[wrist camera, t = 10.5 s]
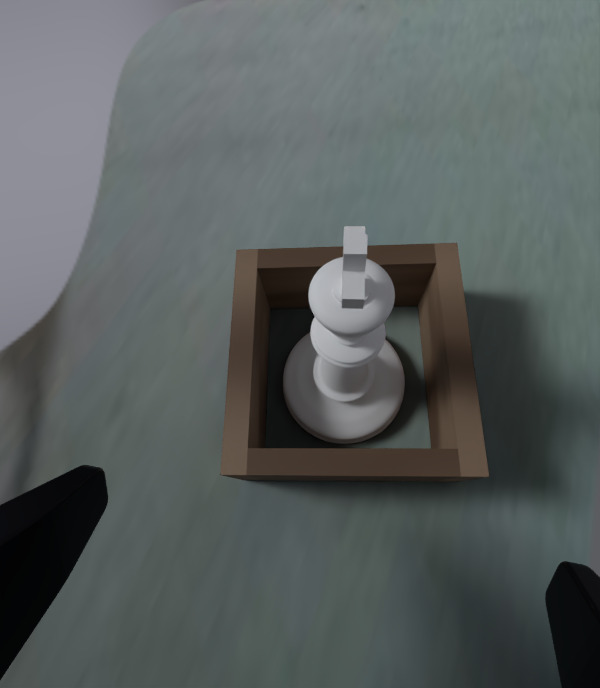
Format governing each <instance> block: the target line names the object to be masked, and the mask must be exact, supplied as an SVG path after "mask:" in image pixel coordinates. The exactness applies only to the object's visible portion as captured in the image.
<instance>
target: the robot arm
mask: <svg viewBox="0 0 600 688" xmlns="http://www.w3.org/2000/svg"><path fill="white" fill-rule="evenodd" d="M107 503H108V493H107V486H106V479H105V473H104V471H103V469H102V468H99V467H94V466H89V465H82V466H79V467H77V468H75V469H73V470H71V471H69V472H67V473H65V474H63V475H61V476H59V477H57V478H55V479H53V480H51V481H48V482H46V483H44V484H42V485H40V486H38V487H36V488H34V489H32V490H30V491H28V492H26V493H24V494H22V495H20V496H18V497H16V498H14V499H12V500H10V501H8V502H5V503H3V504H1V505H0V680H1V678H2V677H3V675H4V674H5V672H6V671H7V669H8V668H9V666H10V665H11V663H12V662H13V660H14V659H15V657H16V656H17V654H18V653H19V651H20V650H21V648H22V647H23V645H24V644H25V642H26V641H27V639H28V638H29V636H30V635H31V633H32V632H33V630H34V629H35V627H36V626H37V624H38V623H39V621H40V620H41V618H42V617H43V615H44V614H45V612H46V611H47V609H48V608H49V606H50V605H51V603H52V602H53V600H54V599H55V597H56V596H57V594H58V593H59V591H60V590H61V588H62V587H63V585H64V583H65V582H66V580H67V579H68V577H69V575H70V573H71V572H72V570H73V568H74V566H75V565H76V563H77V561H78V559H79V557H80V555H81V553H82V552H83V550H84V548H85V546H86V544H87V542H88V540H89V539H90V537H91V535H92V533H93V531H94V529H95V527H96V526H97V524H98V522H99V520H100V518H101V516H102V514H103V513H104V511H105V509H106V506H107ZM546 607H547V612H548V618H549V623H550V628H551V634H552V639H553V644H554V650H555V655H556V660H557V665H558V671H559V676H560V681H561V686H562V688H600V577H599V576H598V575H597V574H596V573H595V572H594V571H593V570H592V569H590V568H589V567H588V566H585V565H582V564H577V563H572V562H567V561H563V562H562V563H560V564H559V566H558V567H557V569H556V572H555V574H554V576H553V578H552V580H551V582H550V584H549V586H548V588H547V591H546Z"/></svg>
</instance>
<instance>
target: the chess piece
mask: <svg viewBox="0 0 600 688" xmlns="http://www.w3.org/2000/svg"><path fill="white" fill-rule="evenodd" d="M308 298H309V304H310V308H311V310H312V312H313V314H314V316H315V317H314V319H313V321H312V325H311V331H310V332H309V333H308V334H306V335H305V336H304V337H303V338H302V339H301V340H300V341H299V342H298V343H297V344H296V345H295V346H294V348H293V349H292V351H291V352H290V354H289V356H288V359H287V361H286V364H285V368H284V374H283V394H284V399H285V402H286V405H287V407H288V409H289V411H290V413H291V415H292V416H293V418H294V419H295V420H296V422H297V423H298V424H299V425H300V426H301V427H302V428H303V429H304V430H306V431H307V432H308V433H310V434H311V435H313V436H315V437H317V438H319V439H321V440H324V441H327V442H332V443H338V444H351V443H357V442H362V441H365V440H367V439H370V438H372V437H374V436H376V435H377V434H379V433H380V432H382V431H383V430H384V429H385V428H386V427H387V426H388V425H389V424H390V423H391V422H392V421H393V419H394V418H395V417H396V415H397V413H398V411H399V409H400V407H401V404H402V401H403V396H404V387H405V378H404V371H403V367H402V364H401V361H400V358H399V356H398V354H397V353H396V351H395V350H394V348H393V347H392V346H391V344H390V343H389V342H388V341H387V340H386V339H385V335H386V331H385V325H384V322H385V320H386V319H387V318H388V316H389V315H390V313H391V311H392V309H393V305H394V301H395V290H394V286H393V283H392V280H391V278H390V277H389V275H388V274H387V272H386V271H385V270H384V269H383V268H382V267H381V266H379V265H378V264H377V263H375V262H373V261H371V260H369V259H367V234H365V226H344V242H343V257H340V258H337V259H334V260H332V261H330V262H328V263H326V264H325V265H324V266H322V267H321V268H320V269H319V270H318V271H317V273H316V274H315V275H314V277H313V279H312V281H311V283H310V287H309V293H308Z"/></svg>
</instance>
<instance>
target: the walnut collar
mask: <svg viewBox="0 0 600 688" xmlns="http://www.w3.org/2000/svg"><path fill="white" fill-rule="evenodd" d="M340 257H343V247H313V248H281V249H250V250H237V251H236V265H235V279H234V293H233V307H232V321H231V335H230V349H229V363H228V377H227V391H226V405H225V419H224V433H223V447H222V461H221V474H220V475H223V476H227V477H232V478H236V479H241V480H301V481H434V482H458V481H464V480H471V479H477V478H484V477H489V472H488V465H487V458H486V450H485V443H484V436H483V428H482V421H481V414H480V407H479V399H478V392H477V385H476V377H475V370H474V363H473V356H472V348H471V341H470V334H469V326H468V319H467V312H466V305H465V297H464V290H463V283H462V275H461V268H460V261H459V254H458V246H457V243H439V244H407V245H376V246H367V259H369V260H371V261H373V262H375V263H377V264H378V265H379V266H381V267H382V268H383V269H384V270H385V271H386V272H387V274H388V275H389V277H390V278H391V280H392V283H393V286H394V290H395V301H394V305H393V306H418V312H419V323H420V333H421V344H422V354H423V365H424V376H425V386H426V397H427V407H428V418H429V429H430V439H431V449H369V448H265V434H266V407H267V381H268V354H269V328H270V309H287V308H310V304H309V298H308V293H309V287H310V283H311V281H312V279H313V277H314V275H315V274H316V273H317V271H318V270H319V269H320V268H321V267H322V266H324V265H325V264H326V263H328V262H330V261H332V260H334V259H337V258H340Z"/></svg>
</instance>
